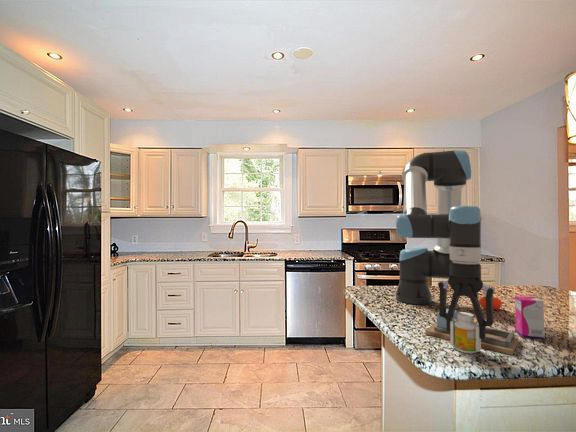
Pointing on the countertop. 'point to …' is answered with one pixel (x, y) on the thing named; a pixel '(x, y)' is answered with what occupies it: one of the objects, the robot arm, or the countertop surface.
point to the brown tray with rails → (492, 340)
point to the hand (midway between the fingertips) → (465, 346)
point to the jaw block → (444, 320)
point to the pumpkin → (496, 303)
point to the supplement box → (529, 317)
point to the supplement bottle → (465, 333)
